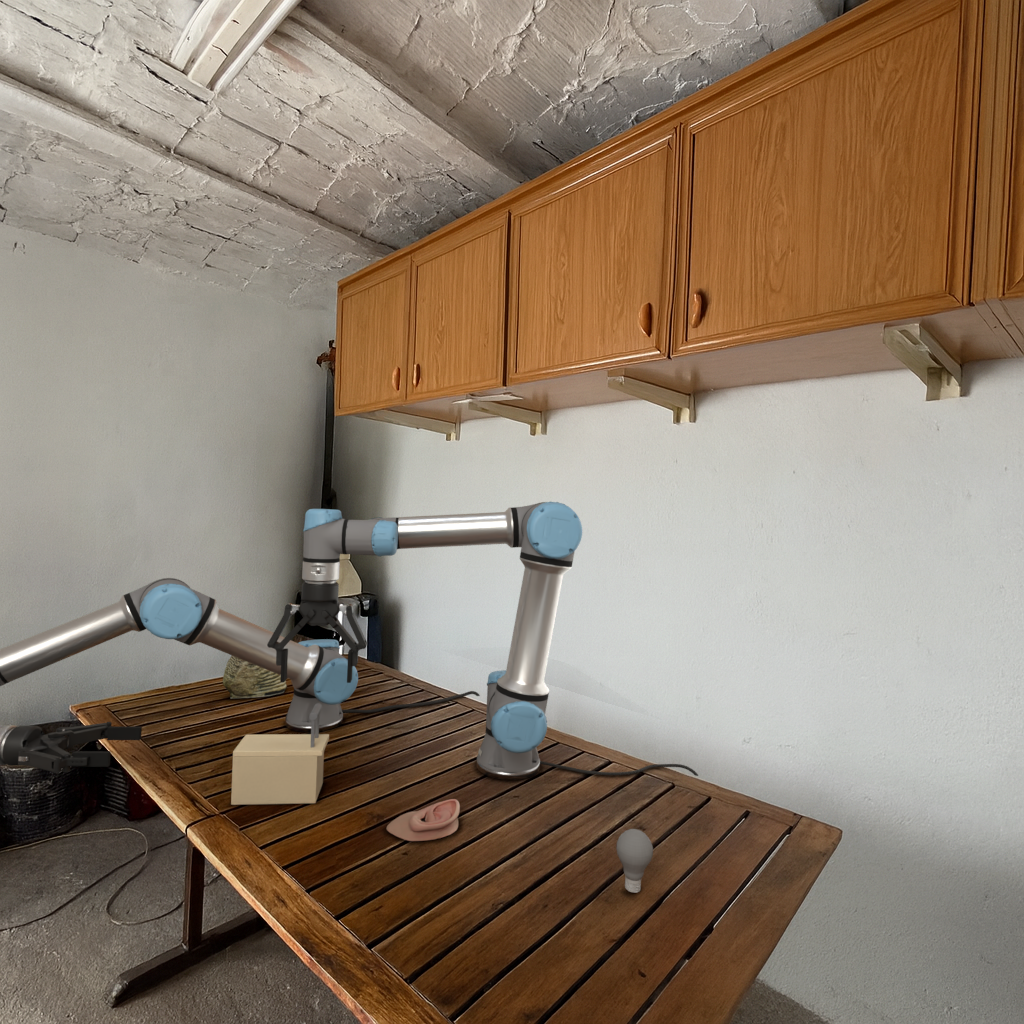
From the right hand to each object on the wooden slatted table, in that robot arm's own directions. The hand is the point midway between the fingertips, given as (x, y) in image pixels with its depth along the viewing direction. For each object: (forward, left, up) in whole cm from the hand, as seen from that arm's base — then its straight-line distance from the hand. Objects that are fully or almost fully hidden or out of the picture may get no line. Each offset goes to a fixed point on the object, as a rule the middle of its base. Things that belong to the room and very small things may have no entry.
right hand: (316, 681), depth 135 cm
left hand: (+37, -8, -14) cm, 40 cm away
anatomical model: (-19, +21, -24) cm, 37 cm away
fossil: (+13, -72, -24) cm, 77 cm away
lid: (+6, -1, -14) cm, 16 cm away
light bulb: (-48, +50, -24) cm, 74 cm away
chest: (+7, -2, -24) cm, 25 cm away
